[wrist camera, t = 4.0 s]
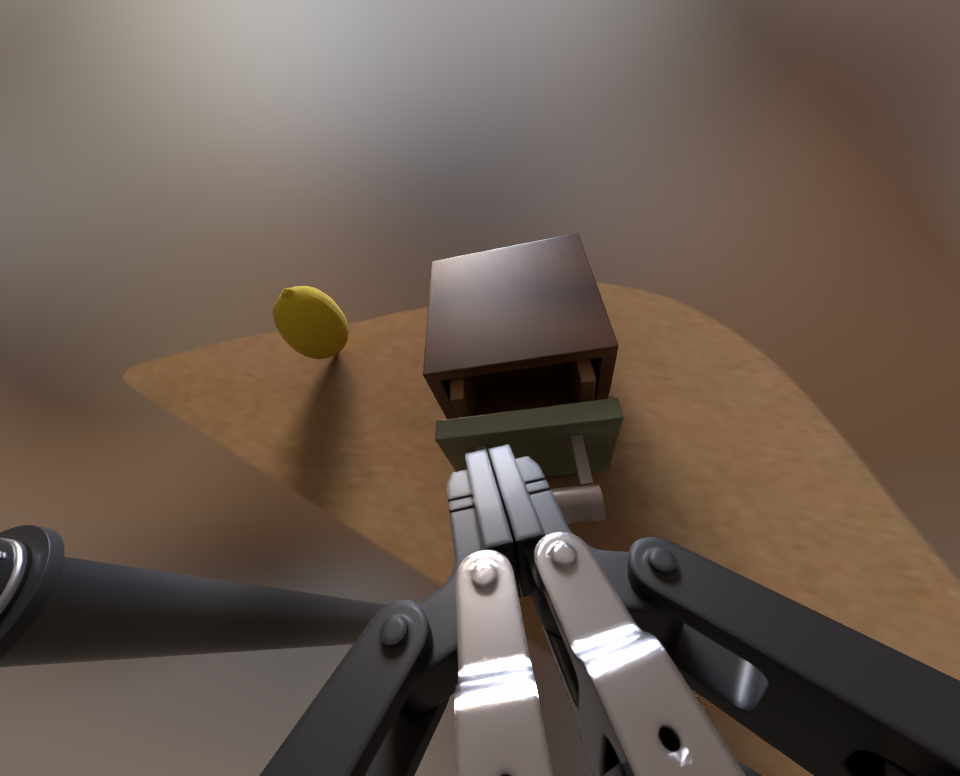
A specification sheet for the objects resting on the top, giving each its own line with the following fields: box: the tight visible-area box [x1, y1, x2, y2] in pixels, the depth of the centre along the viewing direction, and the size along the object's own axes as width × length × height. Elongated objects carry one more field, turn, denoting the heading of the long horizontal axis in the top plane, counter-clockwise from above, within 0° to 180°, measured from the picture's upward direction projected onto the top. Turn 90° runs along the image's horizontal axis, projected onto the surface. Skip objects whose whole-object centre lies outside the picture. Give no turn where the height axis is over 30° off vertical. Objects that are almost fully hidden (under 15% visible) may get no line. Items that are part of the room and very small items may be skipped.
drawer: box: [435, 359, 623, 523], centre depth 21 cm, size 14×9×7 cm
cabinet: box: [423, 233, 618, 419], centre depth 25 cm, size 11×11×9 cm
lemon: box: [273, 286, 349, 359], centre depth 31 cm, size 6×6×8 cm
